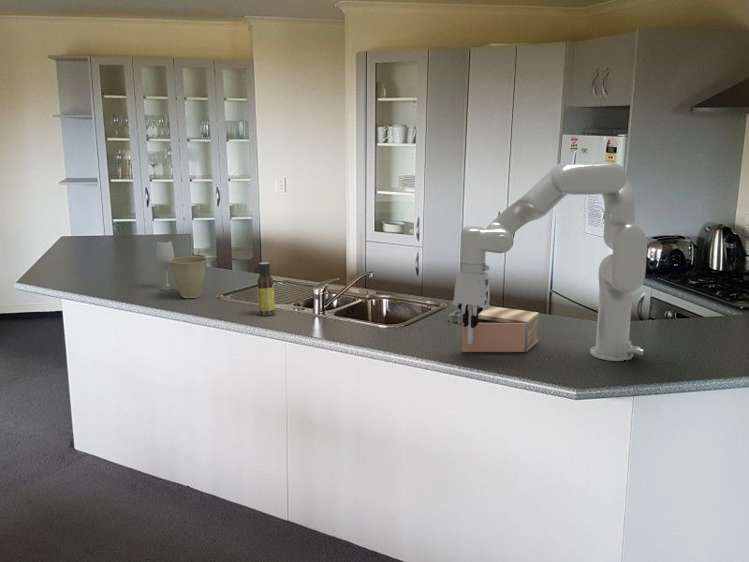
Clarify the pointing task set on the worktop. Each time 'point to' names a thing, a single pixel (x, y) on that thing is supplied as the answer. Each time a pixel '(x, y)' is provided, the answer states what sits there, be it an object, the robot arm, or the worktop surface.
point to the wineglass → (164, 255)
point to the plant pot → (189, 274)
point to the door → (494, 337)
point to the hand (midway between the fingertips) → (470, 326)
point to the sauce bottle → (265, 290)
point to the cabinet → (513, 320)
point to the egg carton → (456, 317)
